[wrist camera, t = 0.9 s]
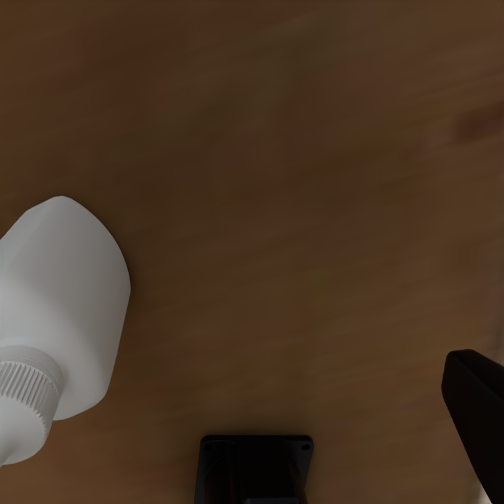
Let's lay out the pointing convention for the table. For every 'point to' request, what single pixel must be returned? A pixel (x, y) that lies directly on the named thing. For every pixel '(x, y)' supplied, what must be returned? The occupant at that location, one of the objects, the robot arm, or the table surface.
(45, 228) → the eye dropper bottle
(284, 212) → the table surface
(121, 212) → the table surface
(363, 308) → the table surface
